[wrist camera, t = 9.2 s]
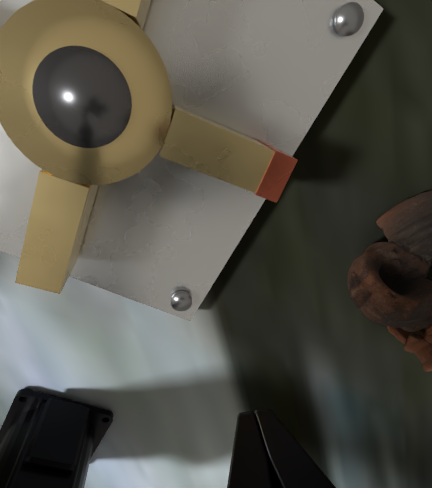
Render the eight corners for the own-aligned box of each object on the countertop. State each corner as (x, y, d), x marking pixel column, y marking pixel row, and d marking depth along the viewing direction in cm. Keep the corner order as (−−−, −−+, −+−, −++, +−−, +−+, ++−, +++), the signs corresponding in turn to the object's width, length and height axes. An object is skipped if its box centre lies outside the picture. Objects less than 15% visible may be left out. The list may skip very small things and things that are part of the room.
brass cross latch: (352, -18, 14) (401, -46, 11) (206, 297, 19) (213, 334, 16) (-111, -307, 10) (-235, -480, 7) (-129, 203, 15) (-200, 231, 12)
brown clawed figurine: (503, 173, 21) (637, 288, 16) (403, 263, 28) (476, 361, 23) (350, 178, 16) (473, 338, 12) (277, 284, 23) (337, 409, 19)
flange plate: (195, 311, 21) (196, 327, 20) (-155, 177, 16) (-187, 186, 14) (375, 19, 16) (396, 13, 14) (-67, -348, 10) (-106, -419, 9)
